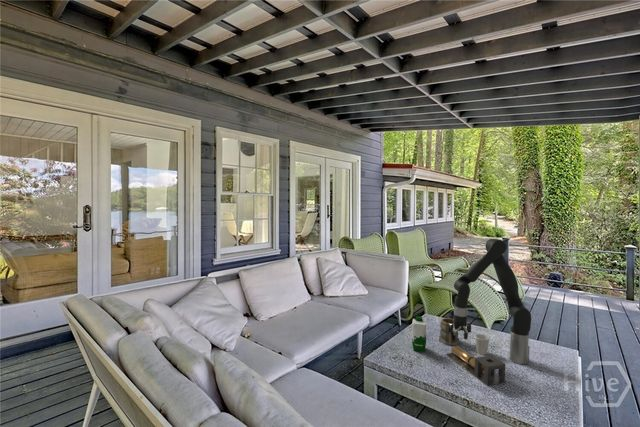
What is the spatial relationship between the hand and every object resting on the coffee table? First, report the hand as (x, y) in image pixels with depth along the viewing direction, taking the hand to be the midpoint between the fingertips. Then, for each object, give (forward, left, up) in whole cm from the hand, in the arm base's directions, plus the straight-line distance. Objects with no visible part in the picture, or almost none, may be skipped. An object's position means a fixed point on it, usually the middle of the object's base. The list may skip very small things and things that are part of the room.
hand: (459, 339), depth 196 cm
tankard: (-6, -18, -11) cm, 22 cm away
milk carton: (+18, -16, -11) cm, 26 cm away
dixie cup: (-18, -2, -11) cm, 21 cm away
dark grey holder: (0, +12, -11) cm, 16 cm away
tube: (0, +7, -10) cm, 13 cm away
